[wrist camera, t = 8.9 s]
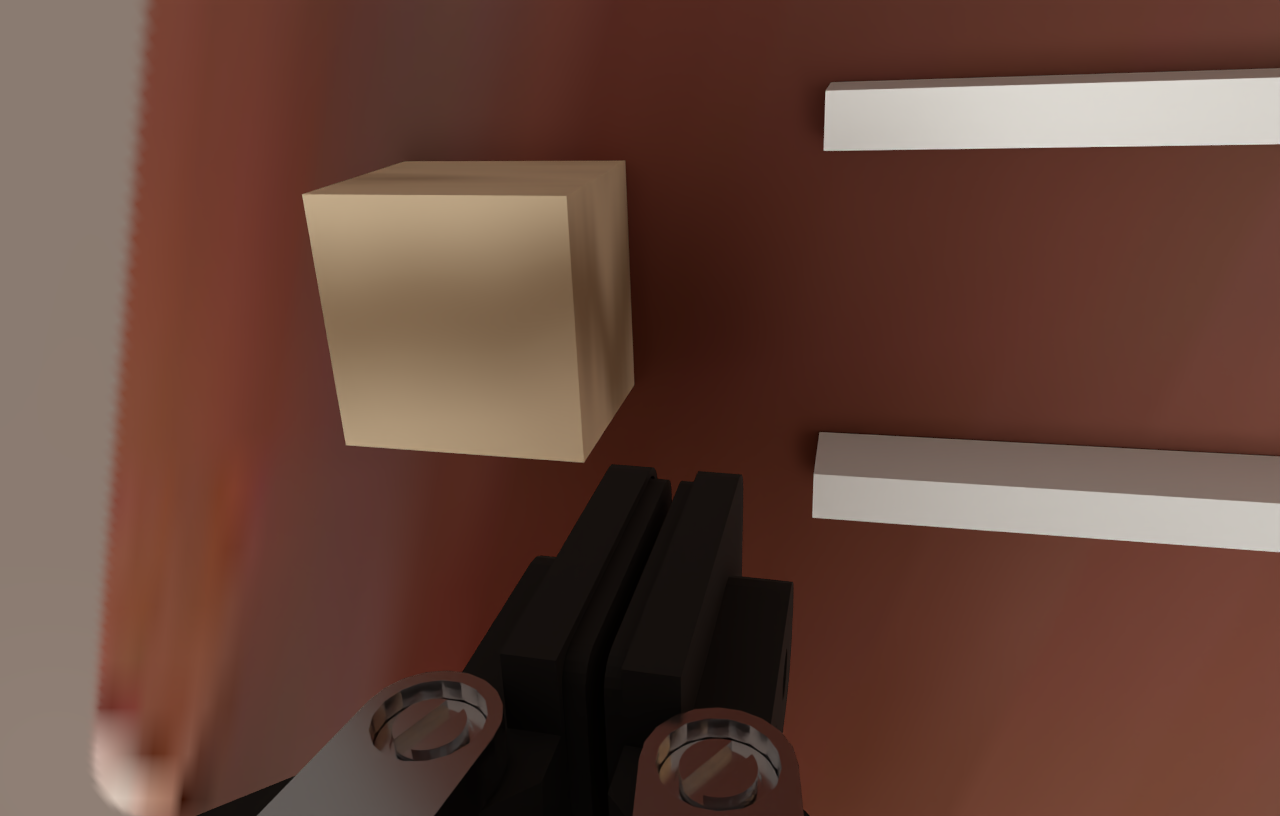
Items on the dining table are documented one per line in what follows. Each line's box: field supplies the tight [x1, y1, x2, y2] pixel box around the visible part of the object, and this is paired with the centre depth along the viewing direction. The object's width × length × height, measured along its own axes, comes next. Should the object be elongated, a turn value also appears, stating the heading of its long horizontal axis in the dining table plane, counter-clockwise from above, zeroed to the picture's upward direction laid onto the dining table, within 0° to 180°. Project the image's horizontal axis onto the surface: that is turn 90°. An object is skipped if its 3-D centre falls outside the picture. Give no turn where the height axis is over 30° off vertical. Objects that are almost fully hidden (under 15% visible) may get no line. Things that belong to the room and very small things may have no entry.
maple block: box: [302, 161, 634, 463], centre depth 23 cm, size 6×6×5 cm
